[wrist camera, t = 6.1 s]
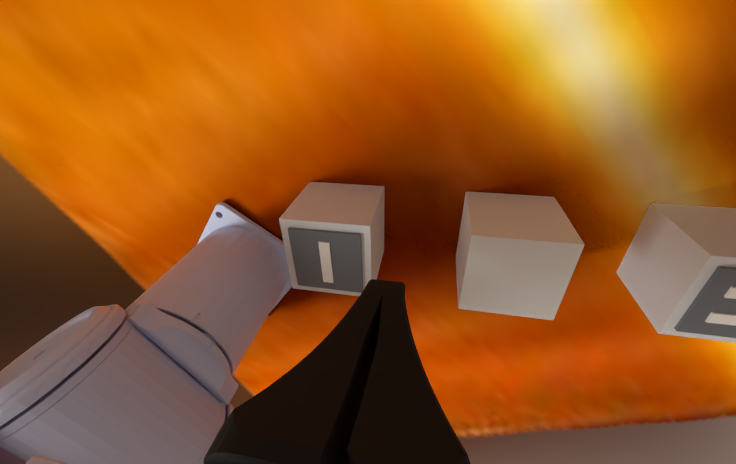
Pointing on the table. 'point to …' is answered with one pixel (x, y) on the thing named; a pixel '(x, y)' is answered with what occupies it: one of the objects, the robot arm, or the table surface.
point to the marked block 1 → (334, 237)
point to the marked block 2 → (685, 270)
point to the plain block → (514, 254)
